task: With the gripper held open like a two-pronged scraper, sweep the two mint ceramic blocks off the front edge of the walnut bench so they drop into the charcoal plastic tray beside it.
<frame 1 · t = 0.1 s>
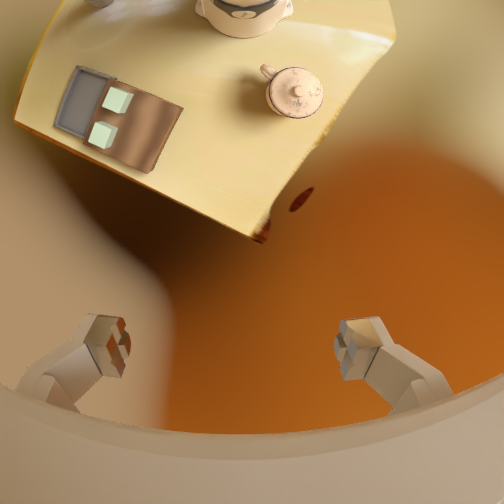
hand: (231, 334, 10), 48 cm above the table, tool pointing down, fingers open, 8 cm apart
walnut bench: (134, 124, 48), on the table
mint block a: (106, 133, 45), point 4 cm above the table, touching walnut bench
teacup with lid: (282, 90, 47), on the table
mint block b: (121, 100, 42), point 4 cm above the table, touching walnut bench
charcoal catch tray: (85, 101, 44), on the table
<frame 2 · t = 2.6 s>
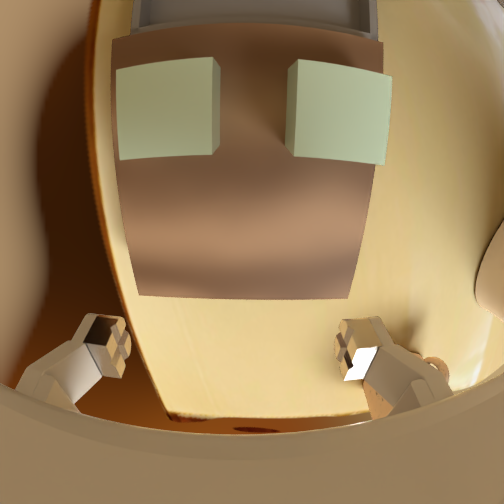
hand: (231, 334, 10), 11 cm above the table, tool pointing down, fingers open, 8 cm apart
walnut bench: (245, 159, 17), on the table
mint block a: (179, 107, 12), point 4 cm above the table, touching walnut bench
teacup with lid: (398, 364, 29), on the table
mint block b: (326, 110, 12), point 4 cm above the table, touching walnut bench
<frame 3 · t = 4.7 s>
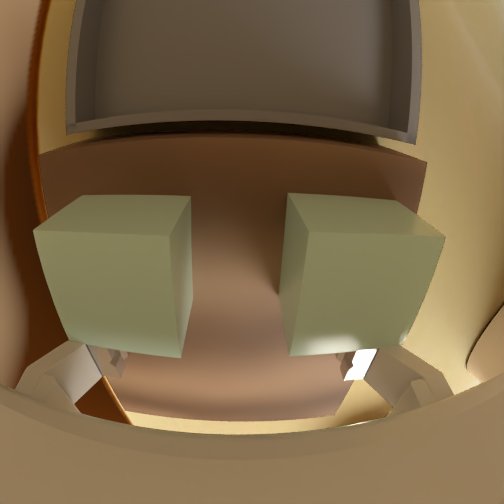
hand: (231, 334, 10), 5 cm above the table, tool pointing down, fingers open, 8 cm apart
walnut bench: (228, 285, 15), on the table
mint block a: (137, 248, 9), point 4 cm above the table, touching gripper, walnut bench
mint block b: (337, 250, 10), point 4 cm above the table, touching walnut bench
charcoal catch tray: (246, 17, 9), on the table
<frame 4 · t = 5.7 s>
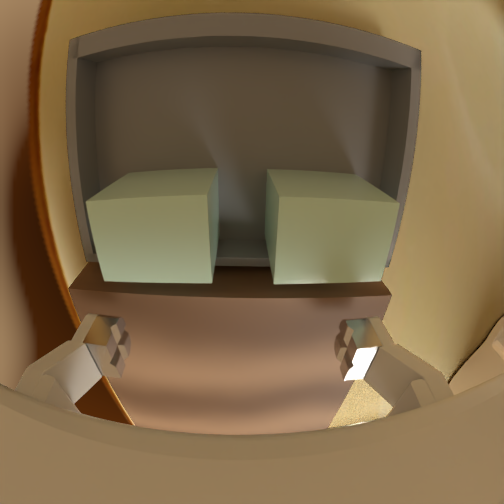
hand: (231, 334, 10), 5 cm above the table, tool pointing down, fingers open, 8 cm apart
walnut bench: (229, 355, 18), on the table
mint block a: (167, 254, 11), point 3 cm above the table, tilted 90°, touching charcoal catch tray
mint block b: (317, 255, 11), point 3 cm above the table, tilted 90°, touching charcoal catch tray
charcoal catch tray: (240, 136, 11), on the table
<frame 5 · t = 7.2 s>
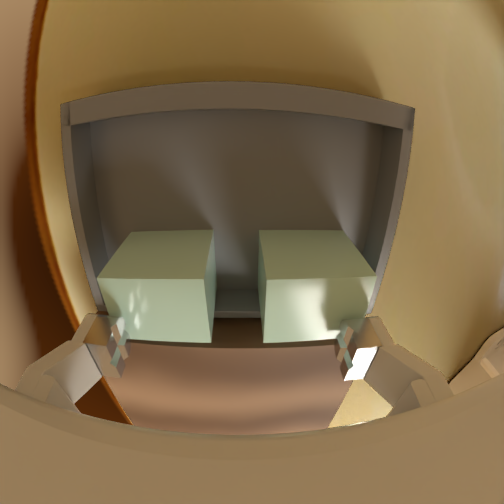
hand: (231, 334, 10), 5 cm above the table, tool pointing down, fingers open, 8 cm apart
walnut bench: (229, 379, 19), on the table
mint block a: (170, 309, 12), point 3 cm above the table, tilted 90°, touching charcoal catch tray
mint block b: (304, 309, 12), point 3 cm above the table, tilted 90°, touching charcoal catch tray
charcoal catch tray: (234, 196, 13), on the table
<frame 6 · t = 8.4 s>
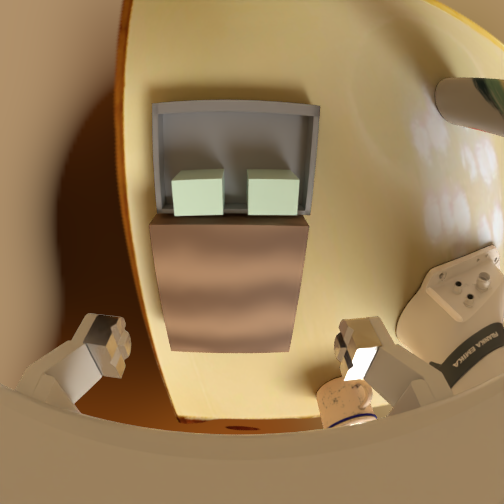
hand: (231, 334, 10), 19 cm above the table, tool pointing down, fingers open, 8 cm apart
walnut bench: (229, 277, 31), on the table
mint block a: (201, 207, 24), point 3 cm above the table, tilted 90°, touching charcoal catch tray
lotion bottle: (449, 100, 22), on the table
teacup with lid: (342, 383, 43), on the table
mint block b: (270, 207, 24), point 3 cm above the table, tilted 90°, touching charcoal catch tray
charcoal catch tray: (234, 153, 25), on the table
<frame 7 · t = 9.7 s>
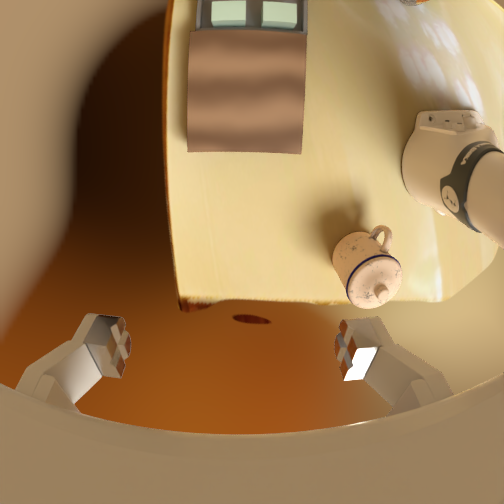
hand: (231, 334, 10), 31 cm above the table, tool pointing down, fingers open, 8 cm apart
walnut bench: (245, 91, 32), on the table
mint block a: (229, 24, 25), point 3 cm above the table, tilted 90°, touching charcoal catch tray
teacup with lid: (358, 246, 44), on the table
mint block b: (278, 26, 26), point 3 cm above the table, tilted 90°, touching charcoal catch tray
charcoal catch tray: (252, 5, 26), on the table
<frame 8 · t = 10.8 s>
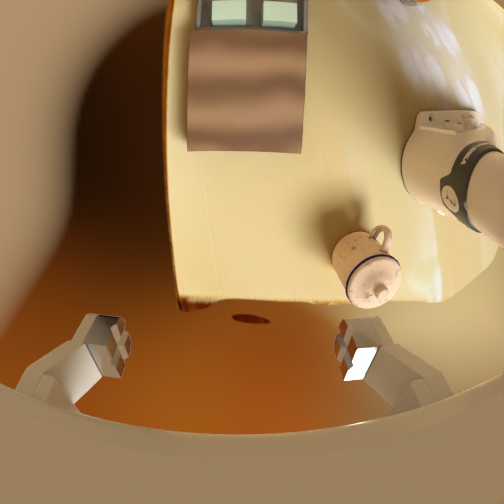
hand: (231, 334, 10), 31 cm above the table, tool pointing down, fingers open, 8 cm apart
walnut bench: (245, 90, 32), on the table
mint block a: (229, 24, 25), point 3 cm above the table, tilted 90°, touching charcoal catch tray
teacup with lid: (358, 246, 44), on the table
mint block b: (278, 25, 26), point 3 cm above the table, tilted 90°, touching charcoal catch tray
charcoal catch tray: (252, 5, 26), on the table
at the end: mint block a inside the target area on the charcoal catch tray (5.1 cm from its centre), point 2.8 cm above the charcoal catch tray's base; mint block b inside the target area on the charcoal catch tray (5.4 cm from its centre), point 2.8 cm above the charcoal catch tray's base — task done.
